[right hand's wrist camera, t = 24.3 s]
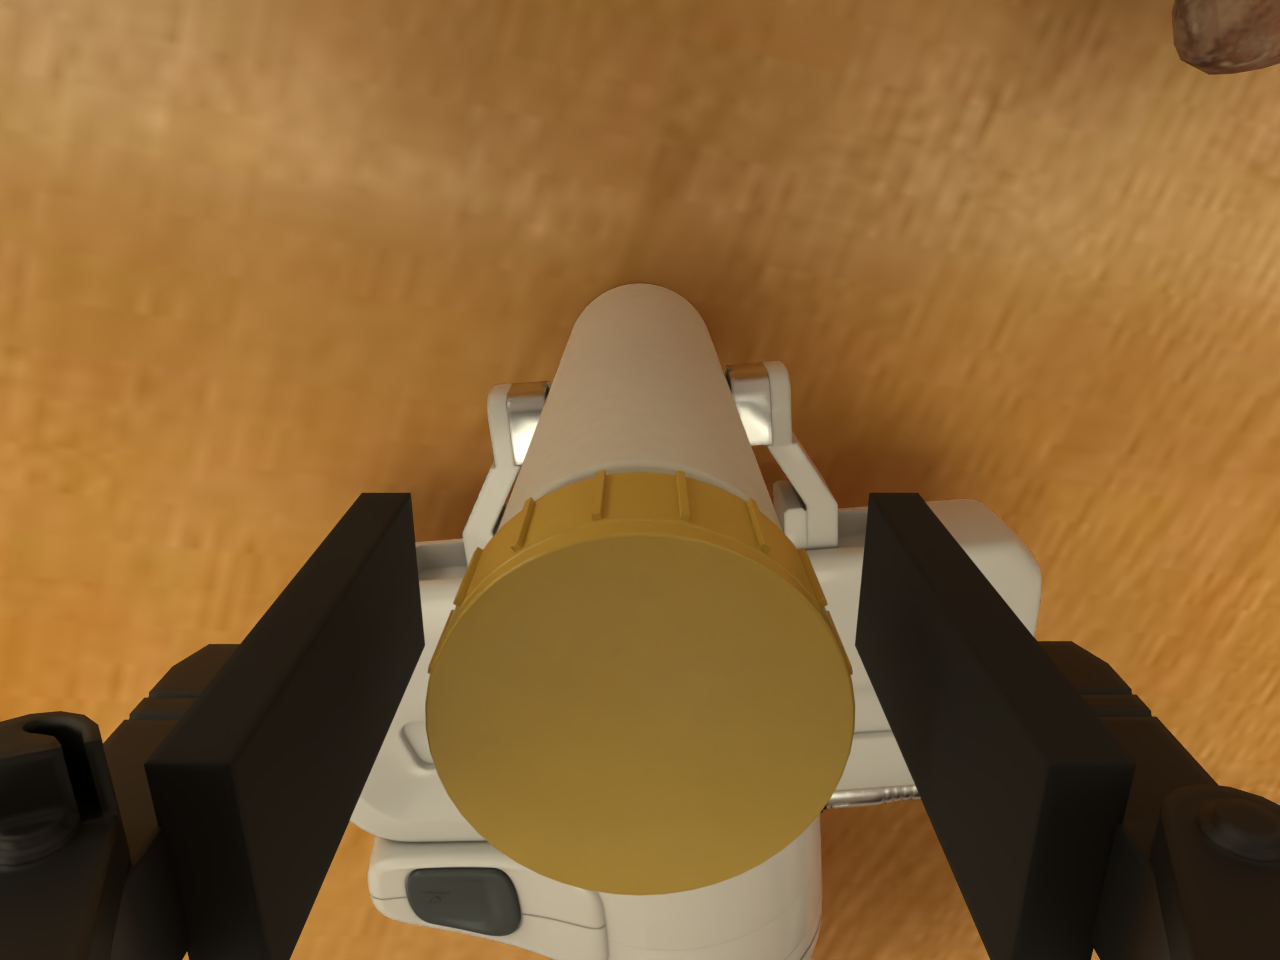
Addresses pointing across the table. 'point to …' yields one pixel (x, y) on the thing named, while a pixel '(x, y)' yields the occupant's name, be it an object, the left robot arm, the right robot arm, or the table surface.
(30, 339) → the table surface
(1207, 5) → the sculpture
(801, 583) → the lid
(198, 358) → the table surface
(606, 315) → the jar
